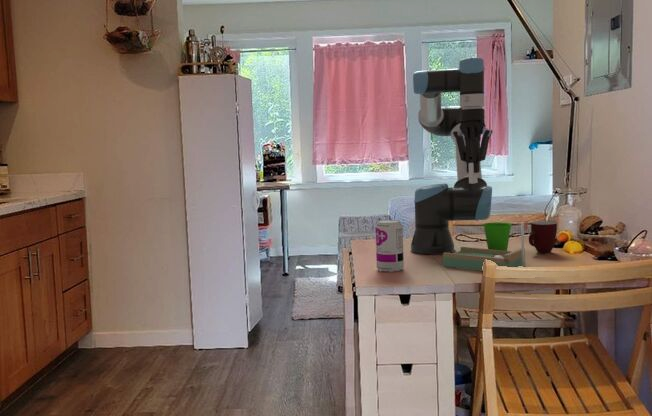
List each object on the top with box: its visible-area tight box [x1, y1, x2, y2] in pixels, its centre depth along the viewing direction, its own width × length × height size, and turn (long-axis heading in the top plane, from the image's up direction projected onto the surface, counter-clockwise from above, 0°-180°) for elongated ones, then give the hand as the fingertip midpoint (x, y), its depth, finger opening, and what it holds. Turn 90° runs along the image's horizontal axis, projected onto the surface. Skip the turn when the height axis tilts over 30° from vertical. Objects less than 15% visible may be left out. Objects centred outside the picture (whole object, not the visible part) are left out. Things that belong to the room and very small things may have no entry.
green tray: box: [442, 246, 526, 272], centre depth 180 cm, size 21×12×5 cm, turn 49°
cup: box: [482, 221, 512, 251], centre depth 192 cm, size 9×9×11 cm
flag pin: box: [520, 221, 528, 267], centre depth 174 cm, size 2×4×14 cm, turn 139°
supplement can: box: [375, 219, 405, 273], centre depth 181 cm, size 8×8×15 cm
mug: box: [528, 220, 558, 255], centre depth 196 cm, size 11×8×10 cm
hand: (473, 183), depth 189 cm, fingers closed
